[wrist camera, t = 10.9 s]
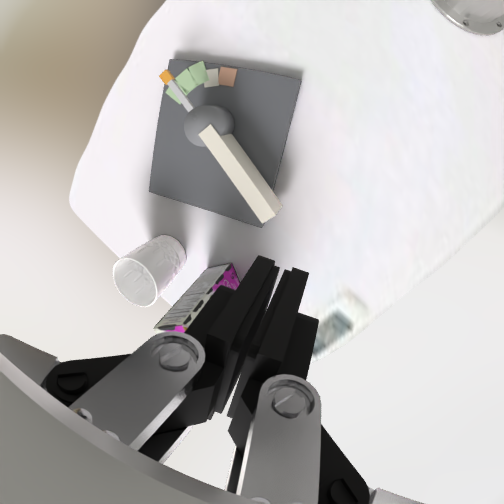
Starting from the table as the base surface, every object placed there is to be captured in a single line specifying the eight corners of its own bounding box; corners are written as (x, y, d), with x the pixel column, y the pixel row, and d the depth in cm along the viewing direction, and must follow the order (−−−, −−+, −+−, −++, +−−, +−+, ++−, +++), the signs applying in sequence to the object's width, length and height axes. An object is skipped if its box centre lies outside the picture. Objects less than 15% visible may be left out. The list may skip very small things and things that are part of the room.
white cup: (143, 233, 50) (105, 258, 41) (182, 228, 47) (146, 256, 39) (156, 275, 53) (123, 305, 44) (195, 274, 50) (164, 308, 42)
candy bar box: (259, 320, 50) (223, 395, 36) (232, 324, 52) (191, 394, 38) (233, 260, 47) (182, 325, 33) (205, 266, 49) (149, 329, 35)
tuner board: (174, 58, 36) (169, 57, 35) (301, 79, 34) (300, 77, 32) (153, 189, 46) (148, 192, 45) (264, 225, 43) (261, 228, 42)
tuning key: (165, 87, 37) (148, 86, 33) (191, 62, 35) (175, 59, 31) (261, 218, 41) (252, 229, 38) (292, 199, 39) (286, 208, 35)
